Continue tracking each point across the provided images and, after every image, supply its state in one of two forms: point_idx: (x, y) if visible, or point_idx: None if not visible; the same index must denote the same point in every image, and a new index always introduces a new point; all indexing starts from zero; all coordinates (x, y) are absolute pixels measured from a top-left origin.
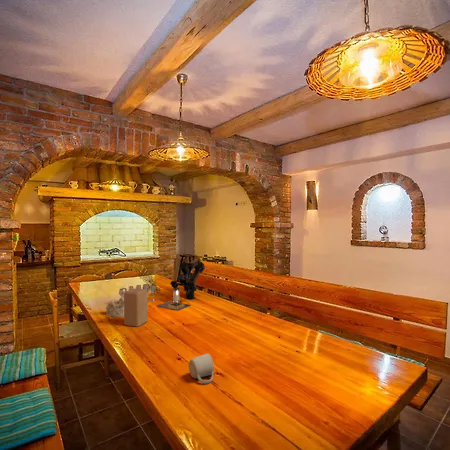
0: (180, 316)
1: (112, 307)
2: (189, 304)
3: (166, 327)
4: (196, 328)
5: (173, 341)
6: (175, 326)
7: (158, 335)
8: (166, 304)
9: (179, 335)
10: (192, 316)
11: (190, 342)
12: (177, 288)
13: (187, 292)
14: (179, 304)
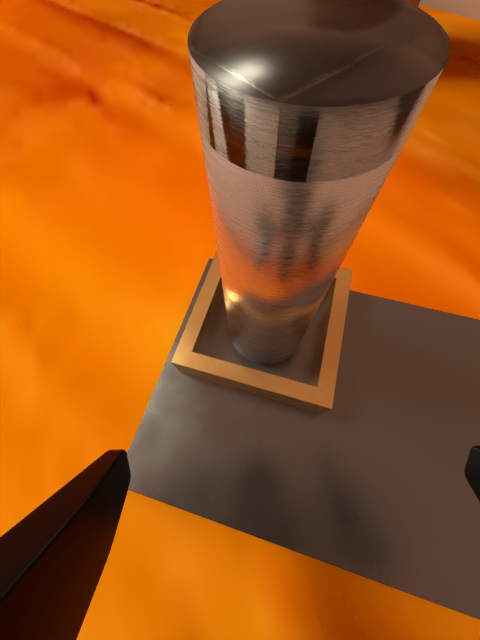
0: (143, 170)
1: None
2: (137, 492)
3: (166, 57)
4: (16, 74)
5: (95, 2)
6: (126, 70)
7: (167, 15)
8: (453, 402)
9: (84, 26)
10: (53, 187)
11: (34, 7)
12: (279, 54)
13: (41, 517)
14: (229, 328)
